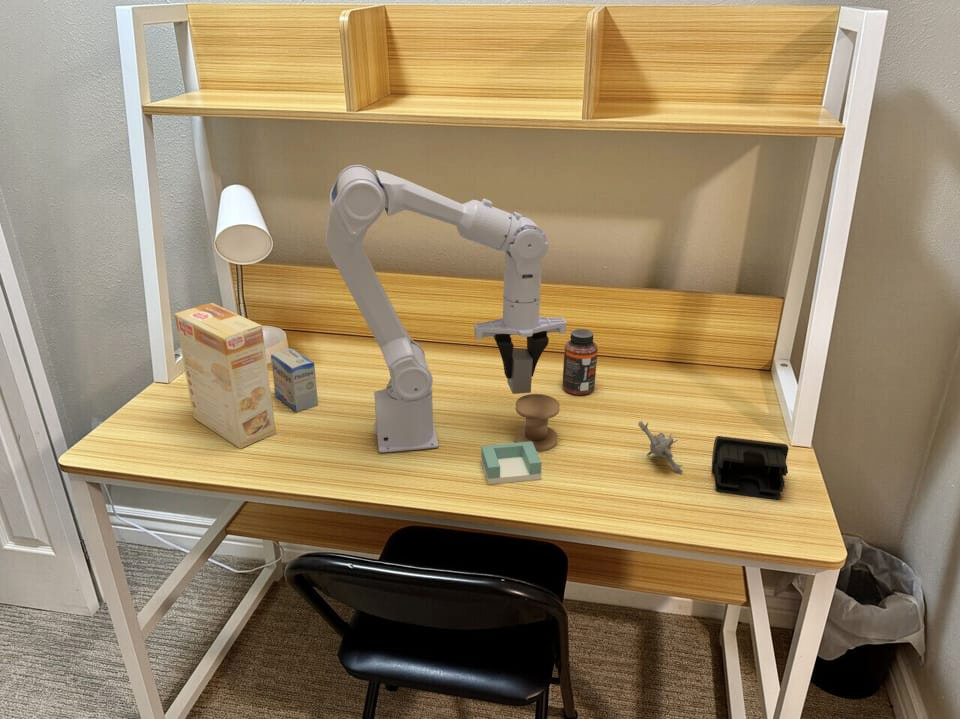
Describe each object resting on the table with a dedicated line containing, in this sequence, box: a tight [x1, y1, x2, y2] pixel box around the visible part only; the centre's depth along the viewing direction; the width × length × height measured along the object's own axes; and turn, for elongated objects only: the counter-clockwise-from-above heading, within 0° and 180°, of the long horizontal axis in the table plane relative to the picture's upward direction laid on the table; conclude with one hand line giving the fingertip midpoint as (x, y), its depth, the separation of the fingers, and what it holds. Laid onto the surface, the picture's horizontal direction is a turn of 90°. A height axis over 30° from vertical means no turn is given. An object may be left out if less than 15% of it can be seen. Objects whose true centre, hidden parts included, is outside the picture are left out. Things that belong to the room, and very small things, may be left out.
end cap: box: [711, 435, 790, 501], centre depth 111 cm, size 10×7×7 cm
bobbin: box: [514, 393, 560, 452], centre depth 122 cm, size 7×7×7 cm
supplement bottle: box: [562, 328, 599, 396], centre depth 137 cm, size 6×6×11 cm
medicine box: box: [270, 347, 319, 413], centre depth 133 cm, size 8×4×9 cm, turn 42°
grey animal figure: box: [637, 420, 684, 475], centre depth 117 cm, size 10×6×9 cm
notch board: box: [480, 441, 543, 485], centre depth 114 cm, size 8×6×3 cm
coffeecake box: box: [174, 302, 277, 450], centre depth 123 cm, size 15×7×20 cm, turn 48°
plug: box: [506, 347, 533, 395], centre depth 122 cm, size 3×4×6 cm
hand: (518, 375), depth 123 cm, fingers closed on plug, 3 cm apart
